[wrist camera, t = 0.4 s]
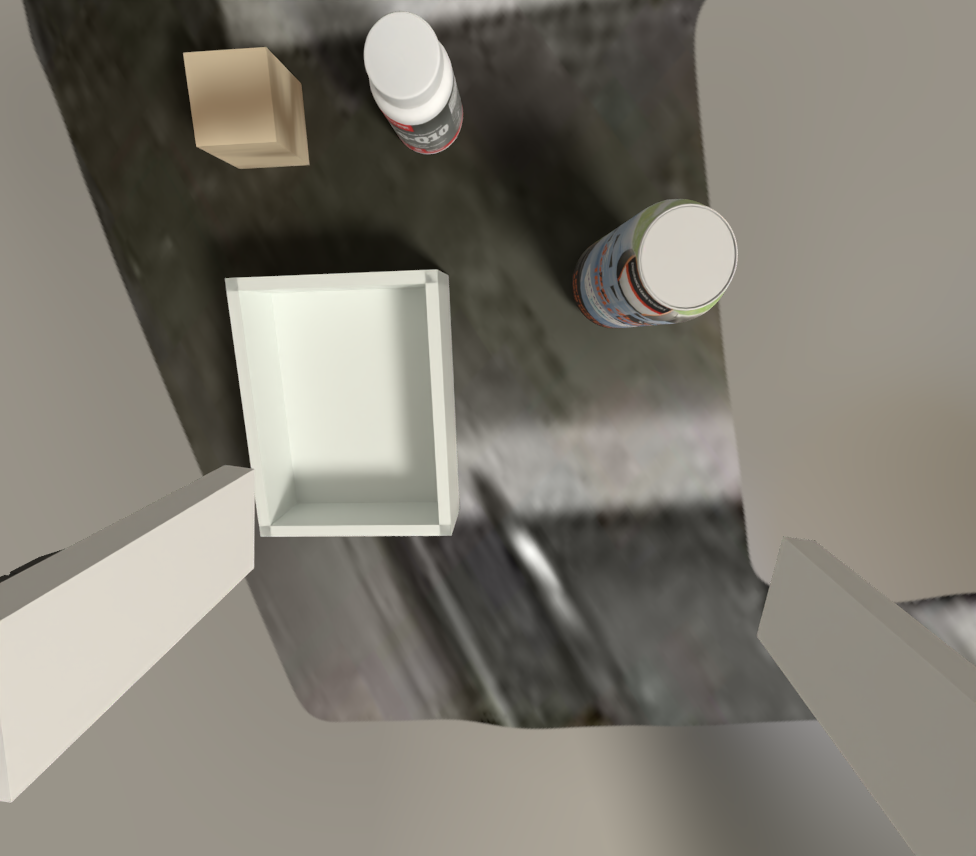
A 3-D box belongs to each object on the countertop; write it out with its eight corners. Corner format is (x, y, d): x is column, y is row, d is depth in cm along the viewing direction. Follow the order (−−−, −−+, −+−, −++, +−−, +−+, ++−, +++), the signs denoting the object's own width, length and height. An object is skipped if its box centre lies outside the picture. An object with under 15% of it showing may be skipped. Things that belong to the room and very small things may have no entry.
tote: (263, 282, 37) (224, 278, 33) (448, 275, 36) (437, 269, 32) (291, 510, 41) (260, 536, 36) (459, 508, 40) (451, 535, 35)
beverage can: (554, 268, 36) (570, 247, 24) (649, 209, 35) (714, 157, 23) (597, 346, 37) (632, 362, 25) (691, 292, 36) (774, 281, 24)
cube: (230, 89, 35) (183, 52, 30) (301, 84, 35) (265, 46, 30) (240, 169, 36) (196, 146, 31) (309, 165, 36) (276, 141, 31)
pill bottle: (395, 156, 35) (356, 108, 27) (392, 78, 34) (352, 3, 26) (464, 155, 35) (446, 107, 27) (464, 76, 34) (445, 1, 26)
